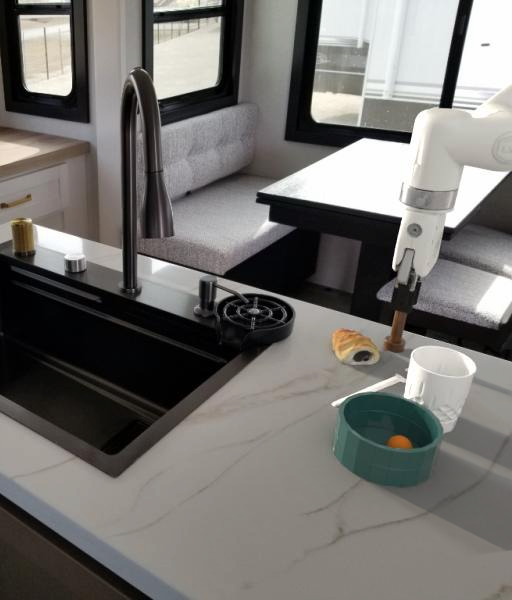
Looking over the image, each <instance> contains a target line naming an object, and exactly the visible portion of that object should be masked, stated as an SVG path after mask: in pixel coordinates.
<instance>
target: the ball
mask: <svg viewBox="0 0 512 600" xmlns="http://www.w3.org/2000/svg"><path fill="white" fill-rule="evenodd" d="M387 446H388V447H391V448H400V449H412V444H411V442H410V441H409V440H408V439H407V438H406V437H404V436H400V435H397V436H393V437H391V438H390V439H389V440H388V442H387Z"/></svg>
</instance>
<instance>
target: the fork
mask: <svg viewBox="0 0 512 600" xmlns="http://www.w3.org/2000/svg"><path fill="white" fill-rule="evenodd" d="M408 369H409V367H407V368H405V369H404V371H405V372H407V373H408ZM406 380H407V378H405V377H404V376H402V375H400V374H398V373H395V374H394V375H393V376H392V377H389V378H387V379H385V380H382V381H379V382H377V383H375V384H372V385H370V386H368V387H365V388H363V389H361V390H358V391H357V392H354V393H352V394H350V395H347V396H345V397H342V398H339V399H337V400H335V401H333V402H332V403H331V406H333V408H337V407H340V404H341V403H342V402H343V401H344V400H345V399H346V398H347V397H349V396H352V395H354V394H357V393H362V392H379V391H381V390H383V389H385V388H388V387H391V386H393V385H395V384H398V383H403V384H404V383H405V384H406Z"/></svg>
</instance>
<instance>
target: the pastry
mask: <svg viewBox="0 0 512 600" xmlns="http://www.w3.org/2000/svg"><path fill="white" fill-rule="evenodd" d="M331 343H332V350H333V352H334V354H335V356H336V357H337V358H338V360H339V361H340V363H341V364H343V365H350V366H354V365H366V366H369V365H370V366H372V365H376V364H377V363H378V362H379V360H380V358H381V354H380V352H379V349H378V347H377V346H376V345H375V343H374V342H373V341H372V339H371V337H368V336H364V335H363V334H362V333H361V332H359V331H356V330H354V329H347V328H339V329H337V330H335V331H333V333H332V339H331Z"/></svg>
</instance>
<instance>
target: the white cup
mask: <svg viewBox="0 0 512 600" xmlns="http://www.w3.org/2000/svg"><path fill="white" fill-rule="evenodd" d="M408 368H409V369H408V372H407V376H406V379H407V380H406V383H405V389H404V392H403V393H404V394H403V397H405V398H408V399H410V400H413V401H415V402H417V403H419V404H421V405H422V406H424V407H425V408H427V409H429V410H430V411H431V412H432V413H433V414H434V415H435V416H436V417H437V418H438V419H439V420H440V423H441V425H442V427H443V429H444V432H443V434H446V433H450V432H452V431H453V430H454V428H455V427H456V424H457V421H458V419H459V416H460V415H461V414H462V411H463V407H464V406H465V402H466V400H467V398H468V395H469V392H470V390H471V386H472V384H473V381H474V378H475V375H476V373H477V364H476V363H475V361H474V360H473V359H472V358H471V357H469V356H468V355H466V354H464V353H463V352H460V351H458V350H455V349H453V348H449V347H445V346H440V345H423V346H419V347H417V348H414V349H413V350H412V352H411V354H410V358H409V363H408Z"/></svg>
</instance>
